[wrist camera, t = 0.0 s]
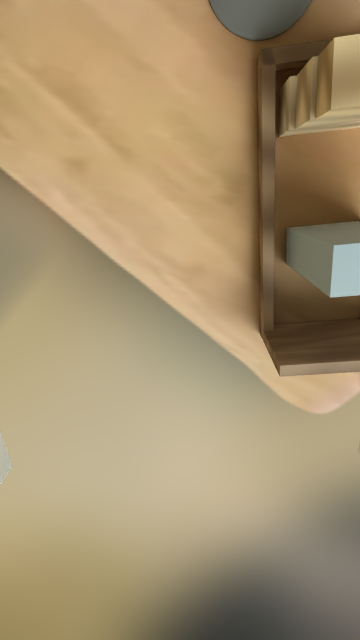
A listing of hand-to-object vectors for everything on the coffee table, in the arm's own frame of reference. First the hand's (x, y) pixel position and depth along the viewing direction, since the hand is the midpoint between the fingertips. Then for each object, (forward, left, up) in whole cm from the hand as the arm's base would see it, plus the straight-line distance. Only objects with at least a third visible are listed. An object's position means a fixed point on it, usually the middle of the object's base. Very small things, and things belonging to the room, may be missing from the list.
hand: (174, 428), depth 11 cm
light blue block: (-1, +15, -28) cm, 32 cm away
